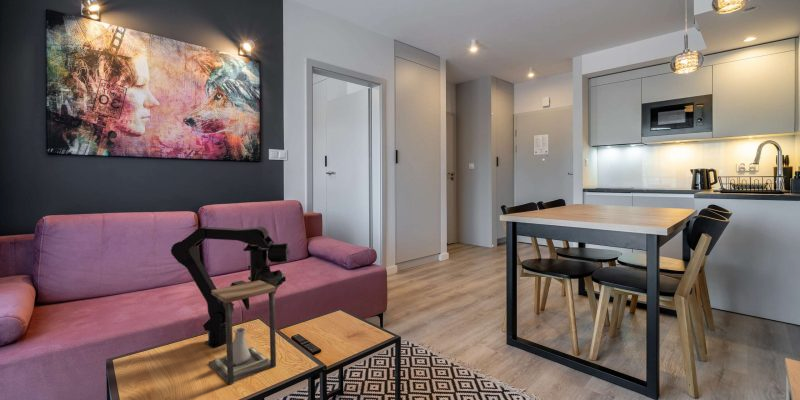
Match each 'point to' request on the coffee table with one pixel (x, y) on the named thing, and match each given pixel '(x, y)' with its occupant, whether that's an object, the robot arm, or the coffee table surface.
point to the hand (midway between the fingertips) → (259, 305)
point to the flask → (240, 347)
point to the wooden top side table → (221, 364)
